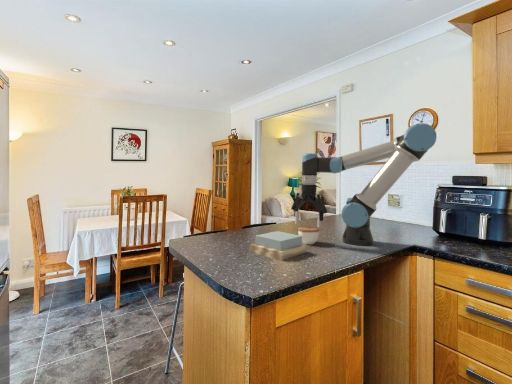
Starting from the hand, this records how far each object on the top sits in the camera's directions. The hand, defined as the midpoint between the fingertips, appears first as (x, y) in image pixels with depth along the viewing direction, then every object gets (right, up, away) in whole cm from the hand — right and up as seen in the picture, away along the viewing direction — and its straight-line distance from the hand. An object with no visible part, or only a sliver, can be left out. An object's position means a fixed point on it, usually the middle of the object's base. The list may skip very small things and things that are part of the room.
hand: (307, 225), depth 141 cm
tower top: (-16, -7, -17) cm, 24 cm away
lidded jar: (0, -9, 0) cm, 9 cm away
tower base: (-17, -11, -17) cm, 26 cm away
